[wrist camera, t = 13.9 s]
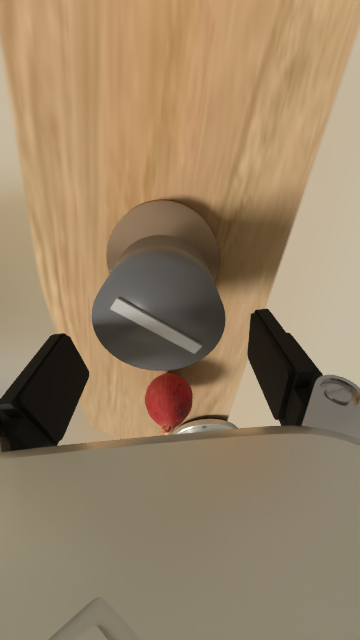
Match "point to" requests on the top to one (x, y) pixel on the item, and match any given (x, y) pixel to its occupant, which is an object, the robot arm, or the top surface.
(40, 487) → the robot arm
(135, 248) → the grey striped cylinder
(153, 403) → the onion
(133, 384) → the top surface
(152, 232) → the post base
